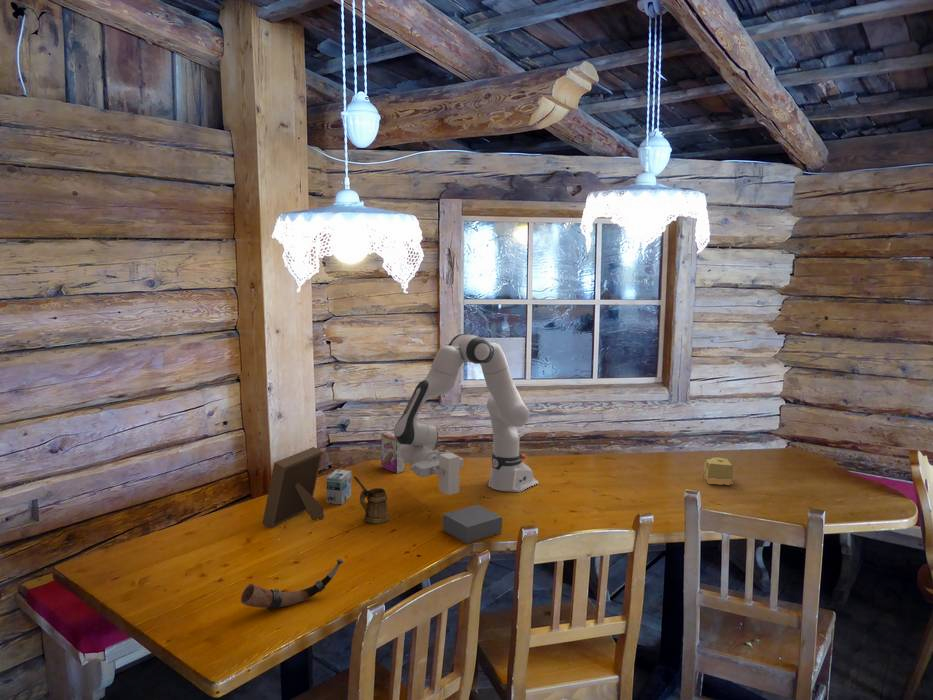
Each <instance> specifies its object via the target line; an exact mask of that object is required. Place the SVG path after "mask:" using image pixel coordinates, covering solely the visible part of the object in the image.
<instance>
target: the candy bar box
mask: <svg viewBox="0 0 933 700" xmlns="http://www.w3.org/2000/svg"><path fill="white" fill-rule="evenodd" d="M380 436H381V439H380V440H381V446H380V447H381V448H380V451H381V452H380V453H381V454H380V456H381V457H380V459H381V465H380V468H382V469H384V470H387V471H389V472H392V473H395V474H401V473H403V471H404V472H405V461H404V460H403V458H402V457H401V453H400V451H401V447H402V446H403V445H404V444H400V443H399V442H398V441H397V439H396V438H395V435H394V432H393V431H392V432H391V431H386V432H382V433H381V435H380ZM400 472H401V473H400Z"/></svg>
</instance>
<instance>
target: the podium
mask: <svg viewBox="0 0 933 700" xmlns="http://www.w3.org/2000/svg"><path fill="white" fill-rule="evenodd" d="M502 529H503V516H501V515H499V514H497V513H495V512H493V511H491V510H489V509H487V508H485V507H483V506H481V505H479V504H476V505H472V506H468V507H464V508H460V509H457V510H454V511H450V512H445V513H443V515H442V530H443V531H444V532H446V533H447V534H449V535H451V536H453V537H455V538H456V539H457V540H459V541H461V542H462V543H464V544H467V545H468V544H470V543H473V541H474V542H477V541H479V539H480V540H483V539H486V538H489V537H488V536H490V537H492V536H491V535H493V536H495V535H494V534H496V535H498V534H497V533H499V534H501V533H500V532H502ZM485 537H486V538H485ZM482 538H483V539H482ZM476 540H477V541H476Z"/></svg>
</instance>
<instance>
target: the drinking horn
mask: <svg viewBox="0 0 933 700" xmlns="http://www.w3.org/2000/svg"><path fill="white" fill-rule="evenodd" d="M336 561H337V563H336V564H335V566H334V567H333V568H332V569H331V571H330V572H329V573H327V574H326V576H325V577H323V578H322V579H321V580H316V582H315V583H314V584H313V585H312V586H309V587H307V588H304V589H303V588H302V589H300V590H295V591H281V590H279V588H275V589H272V588H271V589H267V588H264V587H260V586H258V585H256V584H254V583H249V584H248V585H247V586H246V587H245V588H244V589H243V592H242V594H241V597H240V602H241V605H245V606H247V607H248V606H249V607H252V608H264V609H267V610H277V609H279V608H281V607H288V606H292V605H296V604H299V603H301V602H303V601H306V600H309V599H310V598H312V597H314V596H315V595H316V594H318V593H321V592H322V591H324V590H325V588H326V586H327V585H328V584H329V583H330V582H331V581H332V580H333V578H334V576H335V575H336V574H337V572H338V570H339V568H340V566H341V564H343V563H344V560H343V559H341V558H336Z"/></svg>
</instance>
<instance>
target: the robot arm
mask: <svg viewBox="0 0 933 700" xmlns="http://www.w3.org/2000/svg"><path fill="white" fill-rule="evenodd" d="M465 362H466V363H473V364H476V365H477V364H478V365H479V364H480V366H481V371H482V374H483V379H484V380H485V384H486V388H487V390H488V392H489V393H490V395H491V396H489V397H488V400H487V401H486V409H487V411H488V413H489V417H490V423H491V429H492V434H493V435H492V436H493V438H492V439H493V445H492V447H493V448H492V449H493V450H492V453H491V469H490V476H489V479H488V483H487V486H488V487H489V488H490V487H491V488H490V489H493V490H495V491H498V492H499V491H501V492H512V493H513V492H514V493H520V492H521V493H522V492H523V491H526V490H527V488H528V489H530V488H532V487H531V486H533V487H534V485H535V486H537V485H539V481H538V480H537V479H536V478H534V473H533V471H532V469H531V467H530V466H528V465H526V463H524V462H523V460H526V459H527V455H526V454H524V453H522V454H520V434H519V432H518V430H517V428H521V427H523V426H525V425H526V424H527V423H528V421H529V419H530V415H531V412H530V410H529V407H527V405H526V404H525V402H524V401H523V398H522V397H521V394H520V393H519V391H518V388H517V387H516V385H515V383H514V379H513V376H512V374H511V369H510V367H509V363H508V360H507V357H506V355H505V352H504V350H503V348H502V347H501V345H500V344H499V343H498V342H489V341H488V340H487V339H486V338H484V337H480V336H479V335H478V336H477V335H475V334H467V333H459V334H457V335H455V336H454V337H453V338H452V339H451V341H450V343H448V345H443V346H441V347H440V348H439V349H438V351H437V352H436V355H435V356H434V359H433V361H432V364H431V366H430V369H429V372H428V374H427V376H426V377H425V378H424V379H423V380H421V381H419V383H418V384H417V385H416V387H415V388H414V391H413V393H412V394H411V396H410V399H409V400H408V403H407V405H406V407H405V409H404V411H403V413H402V415H401V417H400V418H399V420H397V423H396V424H395V426H394V429H393V433H394V435H395V438H396V439H397V441H398V442H399V443H400V444H404V445H403V446H402V447H401V451H400V453H401V457H402V458H403V460H404V463H407V464H408V465H409V466H408V468H409V470H411V471H413V473H414V474H415V475H416V476H418V477H420V478H426V477H429V476H433V475H438V476H439V475H441V476H442V475H445V470H443V469H441V470H440V469H439V455H440V454H445V453H449V452H450V451H449V450H448V449H445V450H444V449H441V450H440V449H437V450H436V447H437V444H438V441H439V431H438V429H437V426H435V425H434V424H432V423H427V422H423V421H417V418H418V415H419V414H420V411H421V410H422V407H423V405H424V403H426V401H427V400H428V399H431V398H433V397H437V396H443V395H445V394H448V393H449V392H451V391H452V389H453V388H454V386H455V385H456V384H455V383H456V381H457V378H458V374H459V370H460V368H461V366H462V365H463V364H465ZM463 467H464V458H463V457H461V456H460V469H461V468H463ZM536 484H537V485H536ZM529 487H530V488H529ZM525 489H526V490H525Z"/></svg>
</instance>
